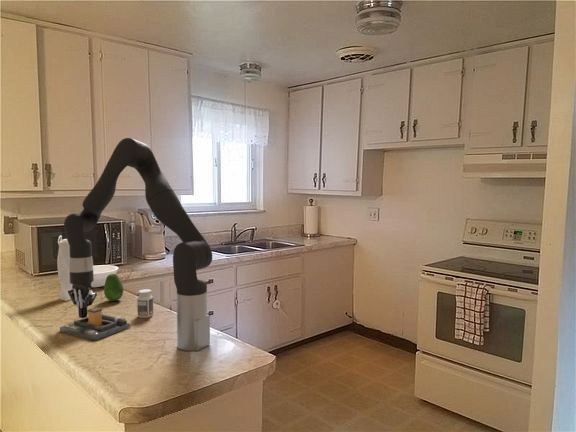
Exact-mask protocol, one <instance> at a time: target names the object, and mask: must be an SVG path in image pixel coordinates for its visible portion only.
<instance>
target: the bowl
mask: <svg viewBox="0 0 576 432" xmlns="http://www.w3.org/2000/svg"><path fill="white" fill-rule="evenodd" d="M118 270H119V267H118V266H116V265H112V264H111V265H108V264H101V265H100V264H99V265H93V276H94V280H93V282H92V283H91V286H92V288H98V287H99V288H100V287H104V286H105V281H106V278H107V276H108V275H110V274H116V275H117V273H118Z"/></svg>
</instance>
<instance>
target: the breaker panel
mask: <svg viewBox="0 0 576 432" xmlns="http://www.w3.org/2000/svg"><path fill="white" fill-rule="evenodd" d="M130 328H131V324H130V322H129V323H128V322H127V323H126V324H124V325H119V324H117V322H112V321H108V320H104V319H102V325H99V326H97V325H93V324H89V322H88V316H87V317H85V318H79V319H77V320H74V321H73V322H72V323H69V324H64V325H62V326H60V327H59V332H61V333H64V334H67V335H71V336H75V337H79V338H83V339H85V340H86V339H87V340H91V341H94V342H96V341H98V340H99V341H100V340H101V339H104V338H107V337H109V336H112V335H114V334H116V333H119V332H122V331H124V330H127V329H130Z"/></svg>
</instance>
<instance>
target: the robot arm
mask: <svg viewBox="0 0 576 432" xmlns="http://www.w3.org/2000/svg"><path fill="white" fill-rule="evenodd" d="M127 167H130V168H133V169H135V170H136V171H137V173H138V174H139V176H140V177H141V179H142V180H143V182H144V185H145V186H144V187H145V188H144V189H145V190H144V191H145V193H144V194H145V195H144V196H145V201H146V203H147V205H148V207H149V208H150V211H151V213H153V216H154V217H155V218H156V219H157V220H158V221H159V222H160V223H161V224H162V225H164V226H165V227H166V228H168V229H170V231H172V232H174V234H176V235H177V237H179V239H180V240H181V242H180V243H177V244H176V246H175V247H174V250H173V253H172V268H173V278H174V279H173V281H174V284H175V288H176V330H177V331H176V333H177V336H176V338H177V339H176V340H177V348H178V350H181V351H186V352H187V351H188V352H189V351H196V352H198V351H199V352H200V350H202V349H204V348H206V347H208V346H209V345H210V344H211V337H210V336H211V330H210V329H211V328H210V326H211V323H210V322H211V320H210V317H211V316H210V315H209V314H208V284H207V282H206V281H204V280H202V279H198V275H197V273H198V272H197V271H198V270H201V269H205V268H207V267H209V266H210V265H211V263H212V262H213V252H212V249H211V247H210V245H209V243H208V242H207V240H206V239H205V238H204V236H203V234H202V233H201V232H200V231H199V230H198V228H197V226H195V224H194V223H193V221H192V220H191V218H190V216H189V214H188V213H187V212H186V210H185V208H184V207H183V205H182V204H181V201H180V199H179V197H178V196H177V194H176V193H175V191H174V189H173V188H172V186H171V185H170V183H169V182H168V180H167V178H166V176H165V175H164V173H163V172H162V170H161V168H160V165H159V163H158V161H157V159H156V157H155V154H154V152H153V150H152V149H151V147H150V146H149V145H148V144H146V143H145V142H142V141H139V140H136V139H134V138H132V137H125V138H123V139H121V140H120V141H119V142H118V143H117V144H116V146H115V148H114V149H113V152H112V153H111V155H110V157H109V159H108V161H107V163H106V165H105V167H104V169H103V171H102V173H101V175H100V177H99V178H98V180H97V182H96V183H95V185H94V186H93V187H92V189H91V190H90V191H89V193H88V194H87V195H86V196H85V198H84V199H83V201H82V208H83V209H82V210H81V212H76V213H74V212H73V213H71V214H68V215H67V216H66V218H65V219H64V222H63V230H64V233H65V237H66V239H67V240H68V243H69V246H70V249H69V250H70V261H69V273H70V283H71V284H73V285H72V289H71V290H68V294H69V296H70V298H71V302H72V304H73V306H76V307H77V308H78V318H79V319H83V318H86V317H88V307H90V306H92V305H93V303H94V302H95V299H96V298H97V296H98V293H97V292H94V291H93V287H92V286H91V283H92V282H93V280H94V276H93V266H94V259H93V246H92V245H93V243H92V241H91V240H89V239H86V235H85V233H88V232H90V231H91V230H93V229H94V228H95V227H96V225H97V224H98V222H99V219H100V217H101V215H102V212H103V211H104V210H105V209H106V207H107V206H108V205H109V204H110V202H111V201H112V199H113V198H114V196H115V193H116V189H117V184H118V183H117V182H118V178H119V176H120V175H121V173H122V172H123V171H124V169H126V168H127Z"/></svg>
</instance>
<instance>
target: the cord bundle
mask: <svg viewBox="0 0 576 432" xmlns="http://www.w3.org/2000/svg"><path fill="white" fill-rule="evenodd" d="M102 319H104V320H108V321H112V322H117V324H119V325H124V324H126V323H128V320H127V319H126V318H123V317H122V316H116V315H111V314H106V313H104V312H103V311H102Z"/></svg>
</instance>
